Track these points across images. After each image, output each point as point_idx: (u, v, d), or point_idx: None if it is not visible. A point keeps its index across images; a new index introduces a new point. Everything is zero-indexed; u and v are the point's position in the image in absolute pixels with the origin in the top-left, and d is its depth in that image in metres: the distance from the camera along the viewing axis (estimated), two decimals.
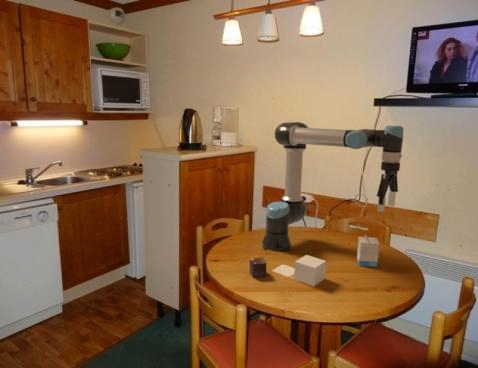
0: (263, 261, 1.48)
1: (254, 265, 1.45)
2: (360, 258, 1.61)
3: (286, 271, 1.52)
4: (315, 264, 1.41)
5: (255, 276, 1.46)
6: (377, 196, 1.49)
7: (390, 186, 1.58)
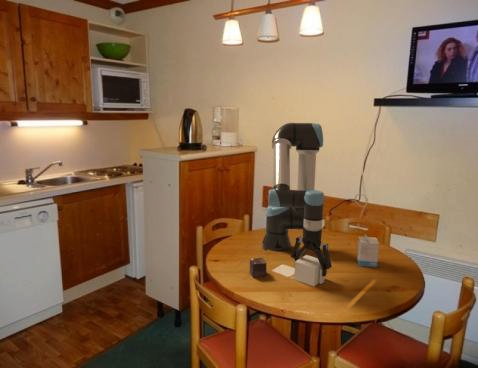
0: (263, 261, 1.48)
1: (254, 265, 1.45)
2: (360, 258, 1.61)
3: (286, 271, 1.52)
4: (315, 264, 1.41)
5: (255, 276, 1.46)
6: None
7: None
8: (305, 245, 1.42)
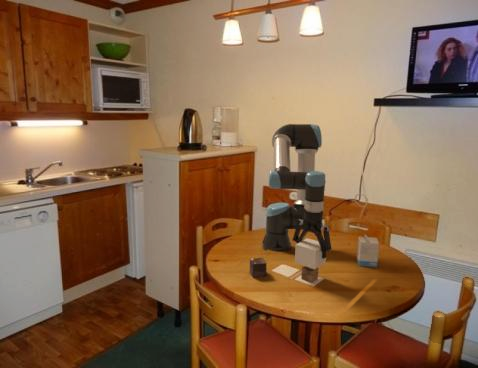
0: (263, 261, 1.48)
1: (254, 265, 1.45)
2: (360, 258, 1.61)
3: (286, 271, 1.52)
4: (316, 247, 1.40)
5: (255, 276, 1.46)
6: None
7: None
8: (306, 227, 1.41)
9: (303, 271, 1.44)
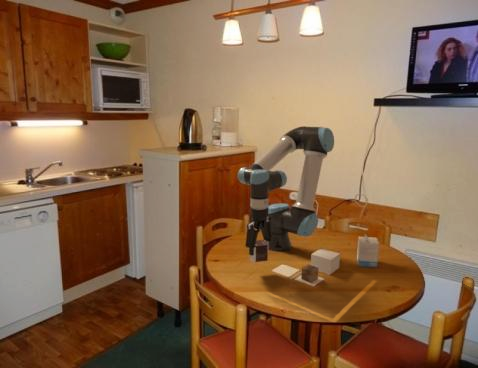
0: (264, 243, 1.46)
1: (255, 247, 1.44)
2: (360, 258, 1.61)
3: (286, 271, 1.52)
4: (330, 256, 1.51)
5: (256, 258, 1.45)
6: None
7: (263, 233, 1.49)
8: (260, 226, 1.43)
9: (303, 271, 1.44)
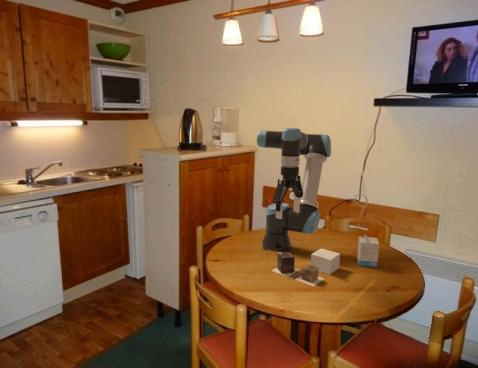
0: (291, 255, 1.51)
1: (283, 259, 1.48)
2: (360, 258, 1.61)
3: None
4: (330, 256, 1.51)
5: (284, 270, 1.49)
6: None
7: (294, 191, 1.50)
8: (290, 184, 1.42)
9: (303, 271, 1.44)
